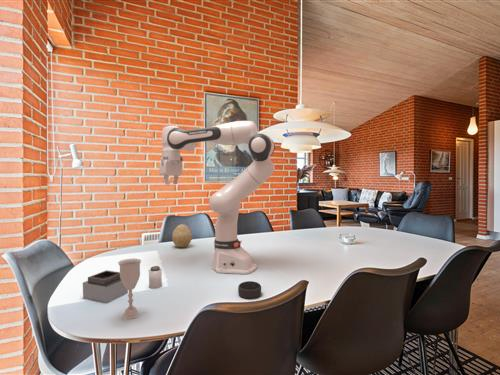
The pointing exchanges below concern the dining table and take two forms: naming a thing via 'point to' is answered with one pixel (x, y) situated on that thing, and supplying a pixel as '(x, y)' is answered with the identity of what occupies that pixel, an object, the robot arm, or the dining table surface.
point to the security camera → (155, 277)
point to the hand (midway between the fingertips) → (171, 184)
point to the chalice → (130, 282)
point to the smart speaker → (249, 290)
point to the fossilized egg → (182, 236)
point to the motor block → (104, 287)
